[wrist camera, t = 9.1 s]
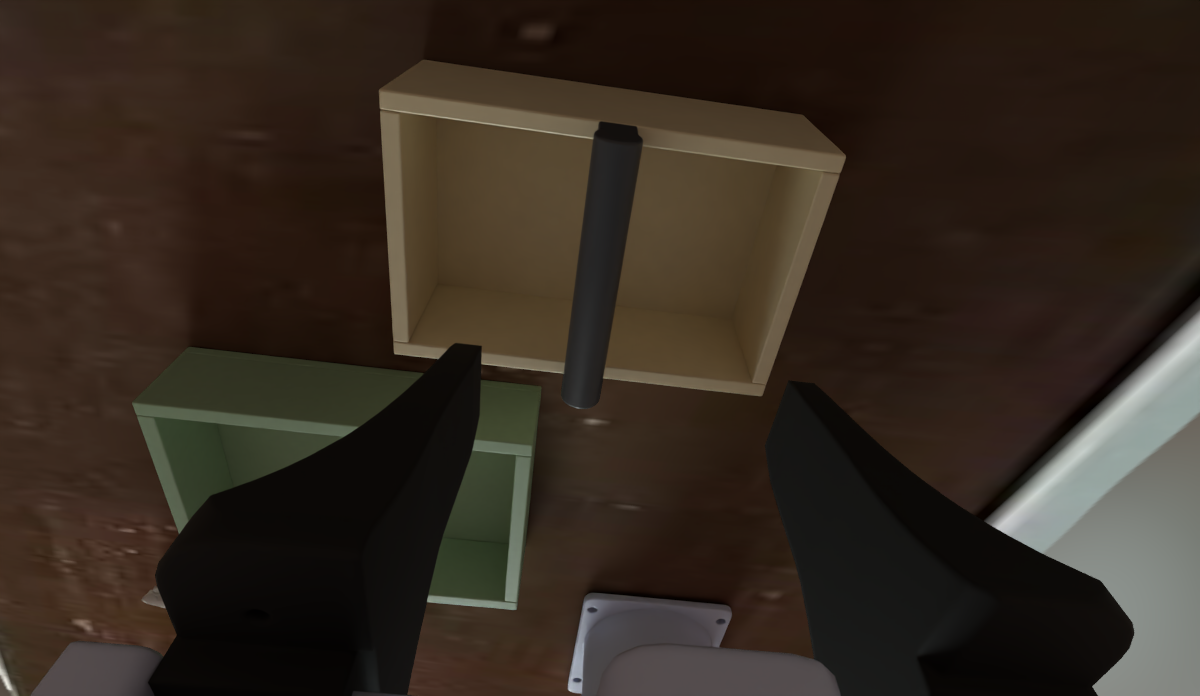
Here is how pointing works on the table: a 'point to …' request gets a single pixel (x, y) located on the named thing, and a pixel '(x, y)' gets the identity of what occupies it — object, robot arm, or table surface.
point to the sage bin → (324, 415)
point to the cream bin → (597, 227)
